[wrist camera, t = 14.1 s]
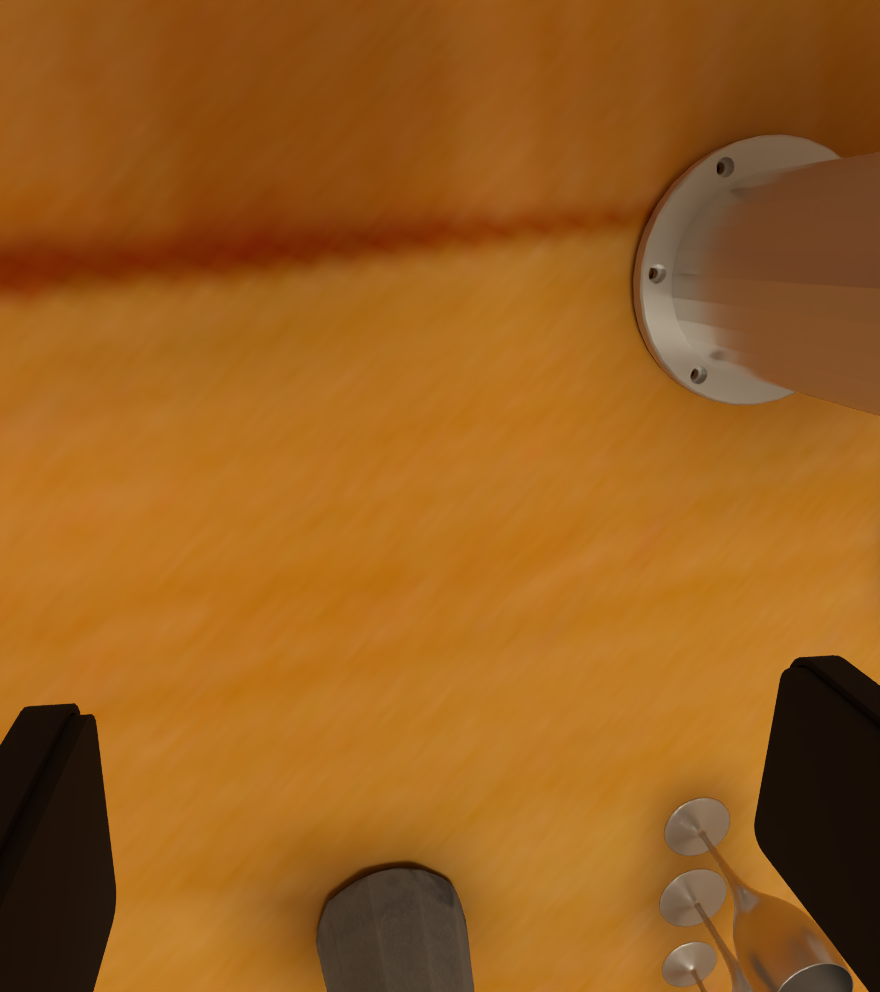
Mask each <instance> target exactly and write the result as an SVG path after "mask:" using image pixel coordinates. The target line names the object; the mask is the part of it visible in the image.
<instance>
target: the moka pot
mask: <svg viewBox="0 0 880 992" xmlns="http://www.w3.org/2000/svg"><path fill="white" fill-rule="evenodd" d="M316 943H317V949H318V954H319V958H320V963H321V967H322V972H323V976H324V980H325V984H326V989H327V992H474V983H473V977H472V968H471V960H470V951H469V942H468V933H467V926H466V920H465V916H464V913H463V909H462V906H461V903H460V901H459V898H458V895H457V893H456V891H455V889H454V887H453V886H452V885H451V884H450V883H449V882H448V881H446V880H445V879H443V878H441V877H439V876H437V875H435V874H431V873H429V872H427V871H424V870H421V869H414V868H395V869H389V870H385V871H379V872H377V873H374V874H371V875H368V876H366V877H363V878H361V879H359V880H357V881H355V882H353V883H352V884H351V885H350V886H348V887H347V888H345V889H343V890H342V891H341V892H339V893H338V894H337V895H336V896H335V897H334V898H332V899H330V900H329V902H328V903H327V905H326V907H325V909H324V912H323V915H322V917H321V920H320V924H319V927H318V933H317V939H316Z"/></svg>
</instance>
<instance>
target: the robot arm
mask: <svg viewBox="0 0 880 992" xmlns="http://www.w3.org/2000/svg"><path fill="white" fill-rule="evenodd" d="M717 164H718V165H719V166H720V171H719V173H717V169H716V166H717ZM650 268H652V269H653V271H654V274H653V277H652V278H651V279H649V275H648V273H649V270H650ZM633 290H634V307H635V312H636V317H637V321H638V326H639V330H640V332H641V334H642V337H643V339H644V341H645V344H646V346H647V348H648V350H649V352H650V353H651V355H652V356H653V358H654V359H655V361H656V362H657V363H658V365H659V366H660V368H661V369H662V370H663V371H664V372H665V373H666V374H667V375H669V376H670V377H671V378H672V379H673V380H674V381H675V382H676V383H677V384H679V385H681V386H682V387H684V388H686V389H687V390H689V391H691V392H692V393H694V394H696V395H699V396H702V397H705V398H707V399H710V400H712V401H716V402H721V403H726V404H731V405H758V404H763V403H767V402H772V401H777V400H780V399H782V398H785V397H787V396H789V395H792V394H794V393H797V392H798V393H802V394H805V395H809V396H812V397H816V398H819V399H823V400H826V401H830V402H833V403H836V404H840V405H843V406H847V407H850V408H854V409H857V410H861V411H864V412H867V413H871V414H874V415H878V416H880V152H876V153H870V154H864V155H858V156H852V157H846V158H842V157H840V156H839V155H838V154H836V153H835V152H834V151H832V150H831V149H830V148H828V147H826V146H824V145H822V144H819V143H817V142H815V141H812V140H810V139H808V138H803V137H797V136H791V135H786V134H779V135H761V136H756V137H752V138H747V139H743V140H739V141H736V142H734V143H731V144H729V145H726V146H723V147H721V148H718V149H716V150H714V151H712V152H711V153H709V154H708V155H706V156H705V157H703V158H701V159H700V160H698V161H697V162H695V163H694V164H693V165H691V166H690V167H689V168H688V169H687V170H686V171H685V172H684V173H683V174H682V175H681V176H680V177H679V178H678V179H676V180H675V181H674V182H673V184H672V185H671V186H670V188H669V189H668V190H667V192H666V193H665V194H664V196H663V197H662V198H661V200H660V201H659V202H658V204H657V206H656V208H655V210H654V211H653V213H652V215H651V217H650V219H649V221H648V223H647V225H646V227H645V230H644V233H643V236H642V239H641V242H640V245H639V248H638V251H637V256H636V263H635V270H634V277H633ZM693 369H694V375H693V376H692V377H690V375H691V372H692V370H693ZM754 829H755V835H756V839H757V842H758V844H759V847H760V849H761V850H762V852H763V853H764V854H765V856H766V857H767V858H768V860H769V861H770V862H771V864H772V865H773V866H774V868H775V869H776V870H777V872H778V873H779V874H780V875H781V877H782V878H783V879H784V881H785V882H786V883H787V885H788V886H789V887H790V889H791V890H792V891H793V893H794V894H795V895H796V896H797V898H798V899H799V900H800V902H801V903H802V904H803V906H804V907H805V908H806V910H807V911H808V912H809V914H810V915H811V916H812V917H813V919H814V920H815V921H816V923H817V924H818V925H819V927H820V928H821V929H822V931H823V932H824V933H825V935H826V936H827V937H828V938H829V940H830V941H831V942H832V944H833V945H834V946H835V948H836V949H837V950H838V952H839V953H840V954H841V956H842V957H843V958H844V959H845V961H846V962H847V963H848V965H849V966H850V967H851V969H852V970H853V971H854V973H855V974H856V975H857V977H858V978H859V979H860V980H861V982H862V983H863V984H864V986H865V987H866V988H867V990H868V991H869V992H880V685H878V684H877V683H876V682H874V681H873V680H872V679H870V678H869V677H868V676H866V675H865V674H864V673H862V672H861V671H860V670H858V669H857V668H856V667H855V666H853V665H852V664H851V663H849V662H848V661H847V660H845V659H844V658H842V657H840V656H834V655H831V656H815V657H799V658H797V659H795V660H794V661H793V663H792V664H791V665H790V668H788V669H786V670H784V672H783V673H782V675H781V678H780V683H779V688H778V694H777V699H776V705H775V711H774V716H773V722H772V727H771V733H770V738H769V744H768V749H767V755H766V761H765V766H764V772H763V777H762V783H761V788H760V794H759V799H758V805H757V810H756V816H755V823H754ZM115 906H116V883H115V875H114V867H113V858H112V850H111V842H110V833H109V825H108V817H107V808H106V800H105V792H104V783H103V775H102V767H101V758H100V750H99V742H98V733H97V725H96V720H95V718H94V716H93V715H92V714H87V715H80V711H79V708H78V706H77V705H76V704H75V703H73V704H58V705H42V706H28V707H24V709H23V710H22V711H21V712H20V714H19V715H18V717H17V719H16V720H15V722H14V724H13V725H12V727H11V728H10V730H9V732H8V733H7V735H6V737H5V738H4V740H3V742H2V743H1V745H0V992H93V991H94V987H95V983H96V980H97V976H98V973H99V969H100V966H101V962H102V959H103V955H104V952H105V948H106V945H107V941H108V937H109V934H110V930H111V927H112V923H113V919H114V914H115Z"/></svg>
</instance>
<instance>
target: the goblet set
mask: <svg viewBox="0 0 880 992" xmlns="http://www.w3.org/2000/svg"><path fill="white" fill-rule="evenodd" d="M729 824H730V815H729V812H728V810H727V808H726V806H725V805H724V804H723V803H722V802H720V801H719V800H716V799H714V798H708V797H702V798H696V799H692V800H690V801H687V802H686V803H684V804H682V805H681V806H679V807H678V808H677V809H676V810H675V811H674V812H673V813H672V814H671V816H670V817H669V819H668V820H667V823H666V825H665V829H664V838H665V841H666V843H667V845H668V847H669V848H670V849H671V850H672V851H674V852H675V853H678V854H680V855H685V856H694V855H699V854H702V853H705V852H707V851H710V852H711V854H712V855H713V857H714V858H715V860H716V862H717V863H718V865H719V867H720V868H721V870H722V872H723V874H724V876H725V877H726V879H727V881H728V884H729V886H730V888H731V891H732V894H733V897H734V903H735V911H734V922H733V940H734V947H735V952H736V955H737V959H738V961H739V962H738V961H737V959H736V958H735V957H734V956H733V954H732V953H731V951H730V950H729V949H728V947H727V946H726V944H725V943H724V941H723V940H722V938H721V936H720V935H719V933H718V932H717V930H716V929H715V927H714V925H713V924H712V922H711V921H710V919H709V918H711V917H712V916H713V915H714V914H716V913H717V911H718V910H719V909H720V908H721V906H722V905H723V903H724V900H725V898H726V892H727V888H726V883H725V881H724V879H723V878H722V877H721V875H719V874H718V873H717V872H715V871H712V870H709V869H694V870H690V871H687V872H685V873H683V874H681V875H679V876H677V877H676V878H675V879H673V880H672V881H671V882H670V883H669V884H668V885H667V886H666V888H665V889H664V891H663V893H662V895H661V898H660V902H659V908H660V912H661V915H662V916H663V918H664V919H665V920H666V921H667V922H669V923H670V924H673V925H675V926H680V927H688V926H694V925H697V924H700V923H702V922H704V923H705V925H706V927H707V928H708V930H709V932H710V934H711V935H712V937H713V939H714V941H715V943H716V944H717V946H718V948H719V950H720V952H721V954H722V956H723V958H724V960H725V962H726V964H727V966H728V969H729V972H730V975H731V979H732V992H853V978H852V976H851V974H850V972H849V970H848V968H847V966H846V964H845V963H844V961H843V959H842V957H841V955H840V954H839V952H838V950H837V949H836V948H835V946H834V945H833V944H832V942H831V941H830V940H829V938H828V937H827V936H826V935H825V933H824V932H823V931H822V929H821V928H820V927H819V926H818V925H817V924H816V923H815V922H814V921H813V920H812V919H811V918H810V917H809V916H808V915H807V914H806V913H804V912H803V911H802V910H800V909H799V908H797V907H796V906H794V905H792V904H791V903H789V902H787V901H785V900H782V899H780V898H777V897H774V896H771V895H767V894H764V893H761V892H758V891H756V890H754V889H753V888H751V887H749V886H748V885H747V884H746V883H744V882H743V881H742V880H741V879H740V878H739V877H738V876H737V875H736V874H735V872H734V871H733V870H732V869H731V868H730V866H729V865H728V864H727V863H726V861H725V860H724V859H723V858H722V856H721V855H720V854H719V852H718V851H717V849H716V848H715V846H716V845H718V844H719V843H720V842H721V840H722V839H723V838H724V836H725V835H726V833H727V831H728V828H729ZM715 964H716V952H715V950H714V949H713V947H712V946H710V945H709V944H707V943H705V942H699V941H694V942H689V943H685V944H683V945H681V946H679V947H677V948H676V949H674V950H673V951H672V952H671V953H670V954H669V955H668V956H667V957H666V959H665V961H664V963H663V966H662V975H663V977H664V979H665V980H666V981H667V982H668V983H669V984H671V985H673V986H676V987H687V986H692V985H695V984H697V985H698V987H699V988H700V990H701V992H707V991H706V989H705V987H704V985H703V983H702V982H701V981H702V980H704V979H705V978H706V977H707V976H708V975H709V974H710V973H711V972H712V970H713V969H714V967H715Z"/></svg>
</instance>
